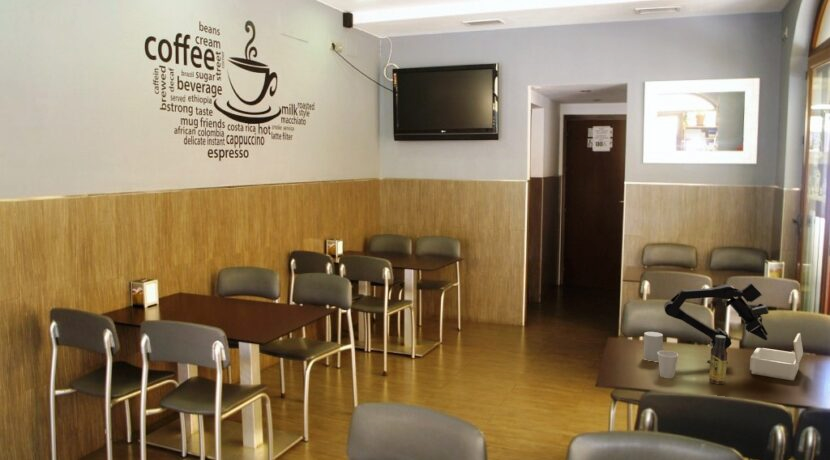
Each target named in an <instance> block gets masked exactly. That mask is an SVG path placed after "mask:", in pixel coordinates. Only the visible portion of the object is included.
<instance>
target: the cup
mask: <svg viewBox="0 0 830 460" xmlns="http://www.w3.org/2000/svg"><path fill="white" fill-rule="evenodd" d="M663 338H664V335H663V333H661V332H655V331H646V332H644V333H643V353H642V355H643V356H642V359H643V358H645V359H647V360H651V361H659V359H658V352H659V351H663V344H664V343H663V341H664V339H663Z"/></svg>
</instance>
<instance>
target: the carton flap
mask: <svg viewBox="0 0 830 460" xmlns="http://www.w3.org/2000/svg"><path fill="white" fill-rule="evenodd" d="M792 344H793V349H794V353H795V358H796V363H799V364H800V361H801V360H802V358H803V355H804V350H803V343H802V334H801V332H799V333H797V334H796V336H795V338H794V340H793V343H792Z"/></svg>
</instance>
